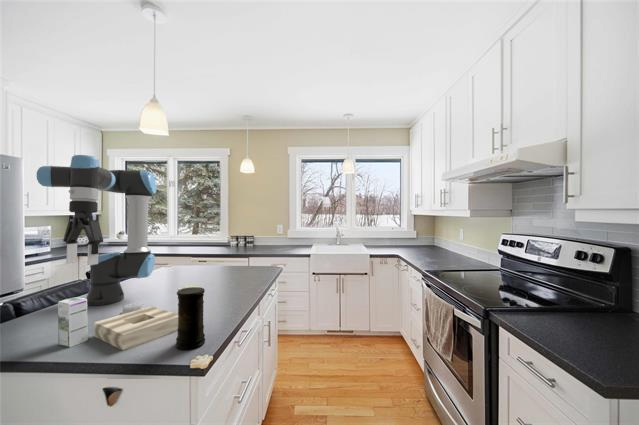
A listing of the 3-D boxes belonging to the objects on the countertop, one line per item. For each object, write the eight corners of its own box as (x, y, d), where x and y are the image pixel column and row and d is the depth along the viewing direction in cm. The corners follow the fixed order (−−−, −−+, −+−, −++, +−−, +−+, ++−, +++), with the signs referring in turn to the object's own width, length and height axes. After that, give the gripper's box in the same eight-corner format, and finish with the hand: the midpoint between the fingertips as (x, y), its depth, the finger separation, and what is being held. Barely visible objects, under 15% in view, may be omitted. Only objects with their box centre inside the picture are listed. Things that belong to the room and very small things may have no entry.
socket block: (94, 336, 102) (94, 322, 102) (152, 318, 119) (152, 306, 119) (122, 350, 91) (123, 334, 91) (181, 328, 108) (181, 315, 108)
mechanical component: (113, 318, 119) (133, 320, 117) (113, 308, 119) (133, 309, 117) (133, 310, 129) (152, 312, 127) (133, 300, 129) (152, 302, 127)
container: (181, 338, 100) (182, 286, 100) (208, 337, 101) (208, 286, 101) (170, 351, 91) (170, 294, 91) (200, 350, 92) (200, 293, 92)
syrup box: (88, 340, 98) (88, 297, 98) (68, 348, 93) (68, 303, 93) (77, 338, 100) (77, 296, 100) (57, 345, 95) (57, 301, 95)
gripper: (52, 201, 101) (50, 263, 100) (91, 198, 90) (88, 266, 89) (78, 203, 108) (76, 260, 107) (116, 200, 97) (115, 264, 96)
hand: (81, 263), depth 98 cm, fingers open, 13 cm apart
